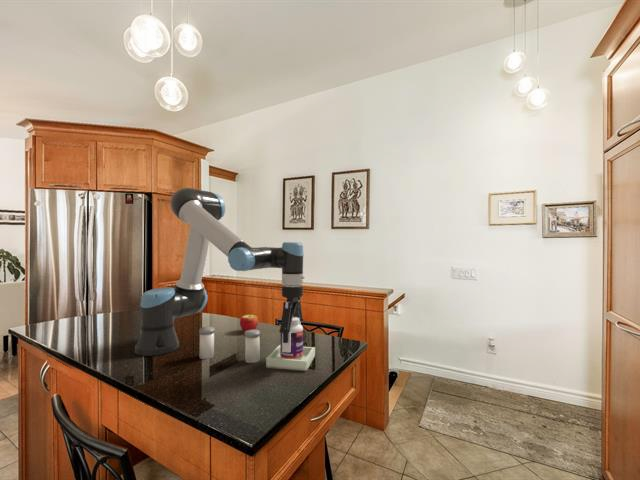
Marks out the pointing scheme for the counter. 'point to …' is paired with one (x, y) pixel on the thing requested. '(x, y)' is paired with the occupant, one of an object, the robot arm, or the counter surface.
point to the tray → (290, 360)
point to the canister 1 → (206, 342)
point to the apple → (248, 322)
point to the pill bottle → (294, 341)
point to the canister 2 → (252, 346)
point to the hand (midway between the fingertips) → (291, 345)
